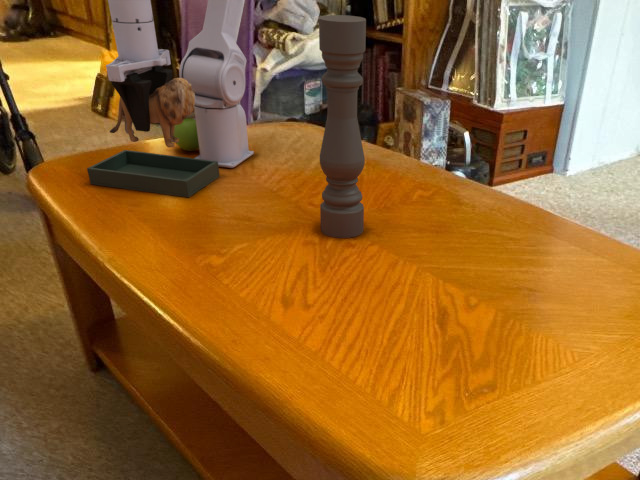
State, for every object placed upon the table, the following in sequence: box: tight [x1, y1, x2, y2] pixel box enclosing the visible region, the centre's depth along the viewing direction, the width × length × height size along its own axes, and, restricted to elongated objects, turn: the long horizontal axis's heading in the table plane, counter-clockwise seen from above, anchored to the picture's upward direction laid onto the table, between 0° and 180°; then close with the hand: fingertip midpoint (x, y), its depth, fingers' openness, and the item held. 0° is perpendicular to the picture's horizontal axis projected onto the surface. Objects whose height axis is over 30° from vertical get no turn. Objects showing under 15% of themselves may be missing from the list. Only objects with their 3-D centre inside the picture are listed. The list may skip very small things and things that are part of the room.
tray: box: [86, 149, 220, 198], centre depth 110 cm, size 11×17×2 cm, turn 75°
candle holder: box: [318, 14, 367, 239], centre depth 89 cm, size 6×6×25 cm
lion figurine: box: [109, 77, 195, 148], centre depth 103 cm, size 15×5×9 cm, turn 80°
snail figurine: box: [174, 108, 199, 152], centre depth 120 cm, size 5×6×12 cm
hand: (150, 126), depth 105 cm, fingers closed on lion figurine, 4 cm apart
